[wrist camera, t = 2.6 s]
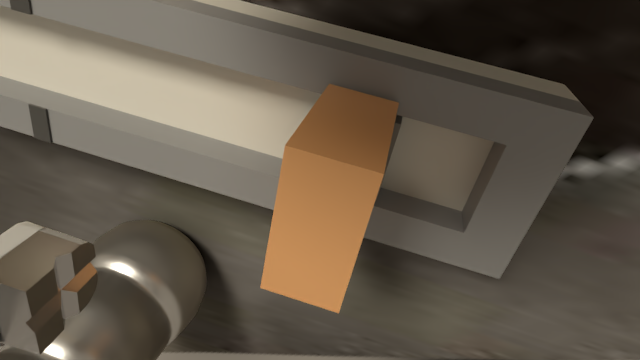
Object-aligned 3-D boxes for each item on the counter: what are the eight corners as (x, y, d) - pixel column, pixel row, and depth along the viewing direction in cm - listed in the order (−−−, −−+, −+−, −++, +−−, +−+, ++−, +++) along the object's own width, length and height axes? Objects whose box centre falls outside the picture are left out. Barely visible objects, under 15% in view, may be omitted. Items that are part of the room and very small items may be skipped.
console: (564, 84, 16) (594, 118, 13) (489, 227, 20) (499, 280, 17) (-81, -83, 19) (-181, -87, 16) (-41, 71, 22) (-116, 92, 19)
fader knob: (410, 90, 15) (396, 177, 10) (375, 197, 18) (348, 316, 12) (330, 68, 16) (272, 141, 10) (307, 177, 18) (250, 284, 13)
